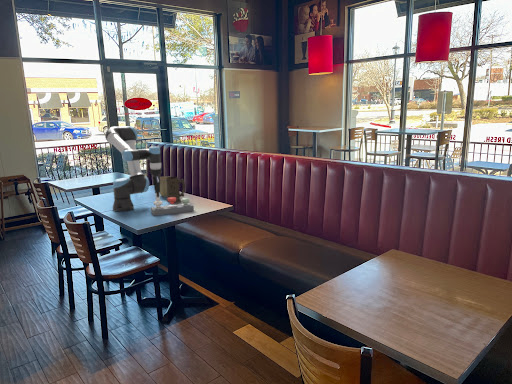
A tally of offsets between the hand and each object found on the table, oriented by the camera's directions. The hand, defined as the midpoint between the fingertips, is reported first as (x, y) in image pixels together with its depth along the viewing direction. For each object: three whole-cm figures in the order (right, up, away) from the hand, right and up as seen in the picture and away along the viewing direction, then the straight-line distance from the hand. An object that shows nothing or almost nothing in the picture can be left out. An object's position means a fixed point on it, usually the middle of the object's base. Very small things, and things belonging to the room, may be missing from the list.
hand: (158, 201), depth 267 cm
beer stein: (+4, -1, +43) cm, 43 cm away
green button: (+18, -2, +9) cm, 20 cm away
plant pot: (-10, +3, +62) cm, 63 cm away
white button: (0, -4, +1) cm, 4 cm away
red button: (+9, -2, +5) cm, 10 cm away
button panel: (+9, -8, +6) cm, 14 cm away
